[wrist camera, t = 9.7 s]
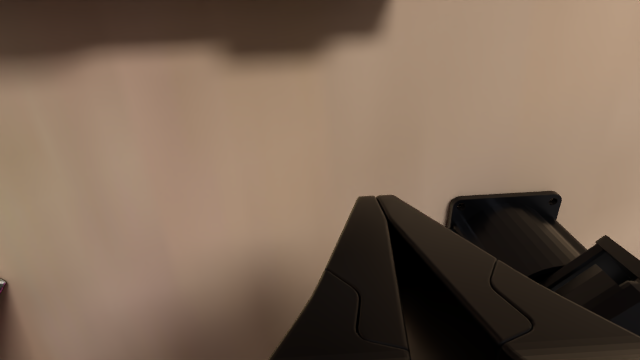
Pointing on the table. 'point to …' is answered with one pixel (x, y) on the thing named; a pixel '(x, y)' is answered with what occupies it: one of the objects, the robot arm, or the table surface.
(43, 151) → the table surface
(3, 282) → the candy bar box
